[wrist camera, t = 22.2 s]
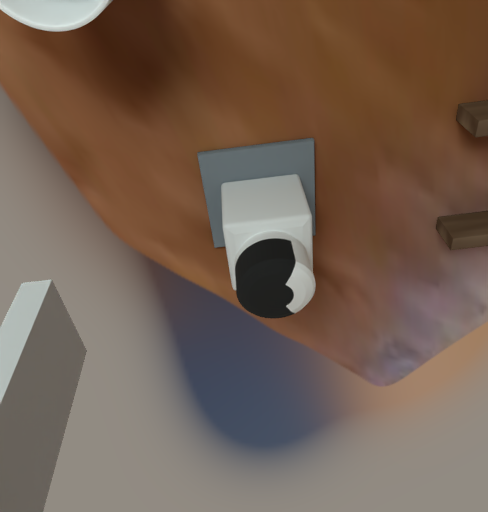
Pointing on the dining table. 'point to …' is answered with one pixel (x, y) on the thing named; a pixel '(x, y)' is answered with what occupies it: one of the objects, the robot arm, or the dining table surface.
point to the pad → (255, 173)
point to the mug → (54, 12)
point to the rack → (471, 224)
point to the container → (269, 244)
